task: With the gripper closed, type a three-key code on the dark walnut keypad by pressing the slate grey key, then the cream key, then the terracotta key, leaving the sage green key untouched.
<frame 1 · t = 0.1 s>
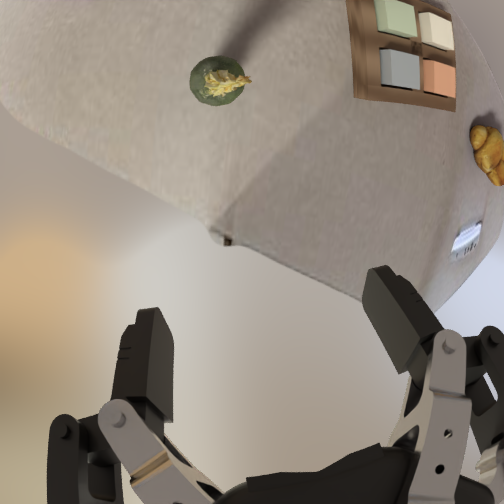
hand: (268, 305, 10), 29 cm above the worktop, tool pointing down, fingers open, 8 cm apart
key sage: (395, 17, 21), point 4 cm above the worktop, slide at 0.0 cm
key cream: (435, 31, 22), point 5 cm above the worktop, slide at 0.0 cm
bread roll: (479, 143, 38), on the worktop
key terracotta: (438, 78, 26), point 4 cm above the worktop, slide at 0.0 cm
keypad: (400, 48, 27), on the worktop
key slate: (399, 69, 26), point 4 cm above the worktop, slide at 0.0 cm
vegetable: (213, 82, 29), on the worktop
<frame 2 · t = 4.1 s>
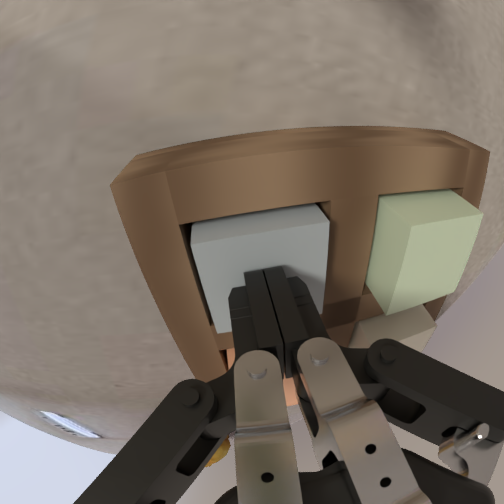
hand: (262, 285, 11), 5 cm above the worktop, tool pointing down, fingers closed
key sage: (421, 247, 12), point 4 cm above the worktop, slide at 0.0 cm
key cream: (387, 342, 16), point 5 cm above the worktop, slide at 0.0 cm
key terracotta: (274, 373, 16), point 4 cm above the worktop, slide at 0.0 cm
keypad: (317, 269, 17), on the worktop
key slate: (260, 262, 12), point 3 cm above the worktop, slide at 1.1 cm, touching gripper
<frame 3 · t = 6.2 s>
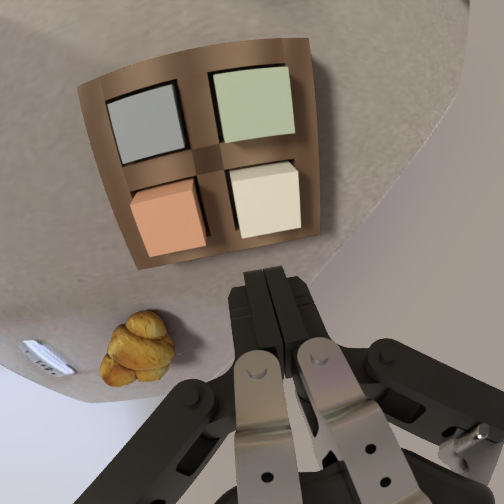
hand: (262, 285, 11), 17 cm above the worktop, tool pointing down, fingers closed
key sage: (252, 102, 18), point 4 cm above the worktop, slide at 0.0 cm
key cream: (265, 198, 22), point 4 cm above the worktop, slide at 0.0 cm
bread roll: (144, 332, 37), on the worktop
key terracotta: (170, 217, 22), point 4 cm above the worktop, slide at 0.0 cm
keypad: (207, 148, 24), on the worktop
key slate: (149, 122, 18), point 3 cm above the worktop, slide at 1.4 cm
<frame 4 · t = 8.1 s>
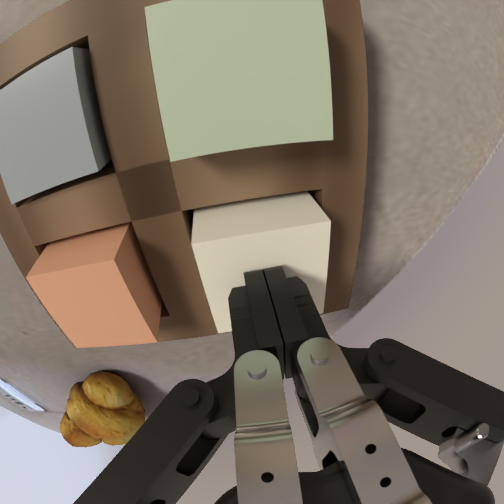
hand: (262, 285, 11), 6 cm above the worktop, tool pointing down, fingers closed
key sage: (239, 68, 7), point 4 cm above the worktop, slide at 0.0 cm
key cream: (261, 262, 12), point 4 cm above the worktop, slide at 0.1 cm, touching gripper
bread roll: (109, 388, 26), on the worktop
key terracotta: (97, 290, 12), point 4 cm above the worktop, slide at 0.0 cm
keypad: (163, 162, 13), on the worktop
key slate: (49, 124, 8), point 3 cm above the worktop, slide at 1.4 cm
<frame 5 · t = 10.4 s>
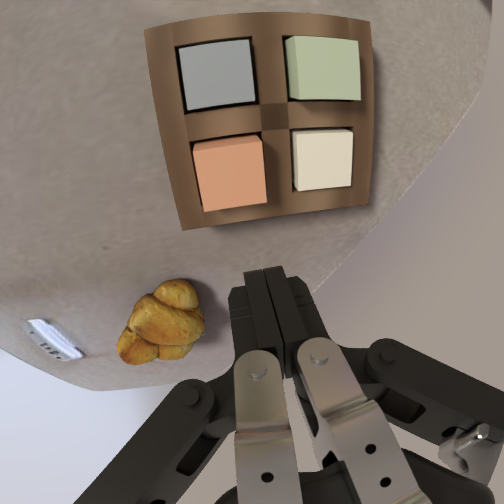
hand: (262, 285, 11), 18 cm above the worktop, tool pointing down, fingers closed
key sage: (322, 68, 17), point 4 cm above the worktop, slide at 0.0 cm
key cream: (319, 156, 23), point 3 cm above the worktop, slide at 1.4 cm
bread roll: (169, 305, 35), on the worktop
key terracotta: (230, 171, 21), point 4 cm above the worktop, slide at 0.0 cm
keypad: (265, 111, 23), on the worktop
key slate: (217, 74, 18), point 3 cm above the worktop, slide at 1.4 cm
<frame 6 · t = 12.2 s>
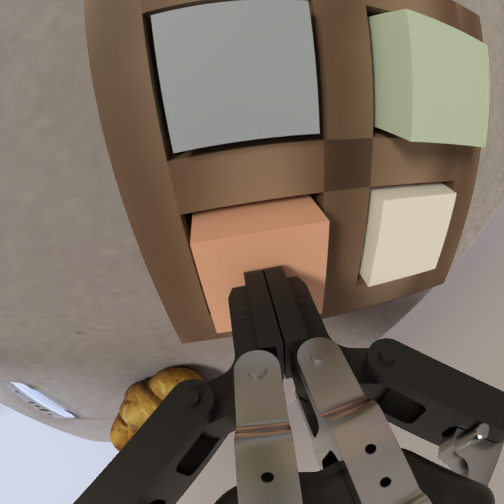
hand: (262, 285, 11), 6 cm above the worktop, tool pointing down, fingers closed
key sage: (432, 80, 8), point 4 cm above the worktop, slide at 0.0 cm
key cream: (400, 225, 13), point 3 cm above the worktop, slide at 1.4 cm
bread roll: (170, 386, 26), on the worktop
key terracotta: (260, 262, 12), point 4 cm above the worktop, slide at 0.4 cm, touching gripper
keypad: (314, 141, 13), on the worktop
key slate: (235, 70, 8), point 3 cm above the worktop, slide at 1.4 cm
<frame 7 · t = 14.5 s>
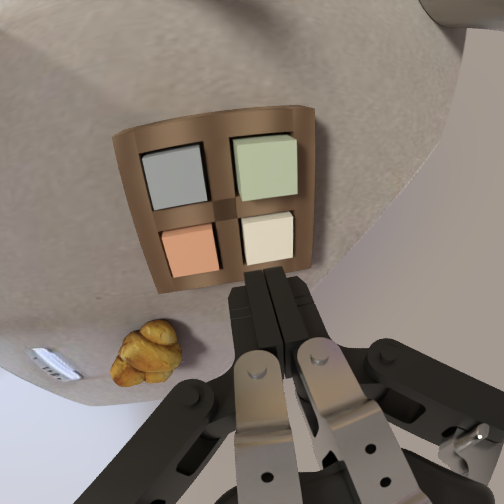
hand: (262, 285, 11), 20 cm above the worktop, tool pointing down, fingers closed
key sage: (265, 165, 24), point 4 cm above the worktop, slide at 0.0 cm
key cream: (266, 234, 29), point 3 cm above the worktop, slide at 1.4 cm
bread roll: (153, 338, 40), on the worktop
key terracotta: (191, 246, 28), point 3 cm above the worktop, slide at 1.4 cm
keypad: (221, 194, 29), on the worktop
key slate: (176, 174, 24), point 3 cm above the worktop, slide at 1.4 cm
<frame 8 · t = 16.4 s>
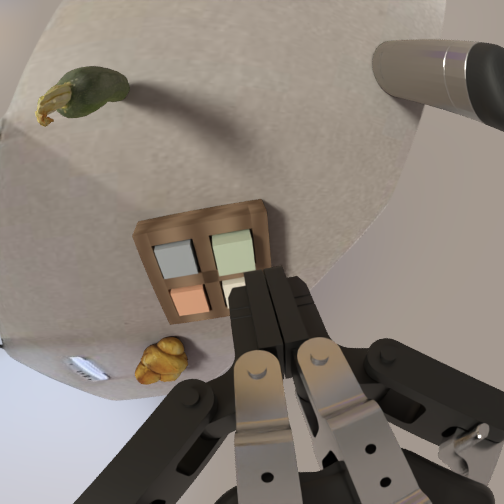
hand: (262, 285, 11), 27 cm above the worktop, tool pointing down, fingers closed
key sage: (233, 252, 37), point 4 cm above the worktop, slide at 0.0 cm
key cream: (240, 288, 43), point 3 cm above the worktop, slide at 1.4 cm
bread roll: (166, 348, 55), on the worktop
key terracotta: (190, 296, 43), point 3 cm above the worktop, slide at 1.4 cm
keypad: (209, 260, 43), on the worktop
key slate: (177, 256, 38), point 3 cm above the worktop, slide at 1.4 cm
vegetable: (126, 86, 26), on the worktop
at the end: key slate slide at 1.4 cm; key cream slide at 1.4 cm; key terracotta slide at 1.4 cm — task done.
